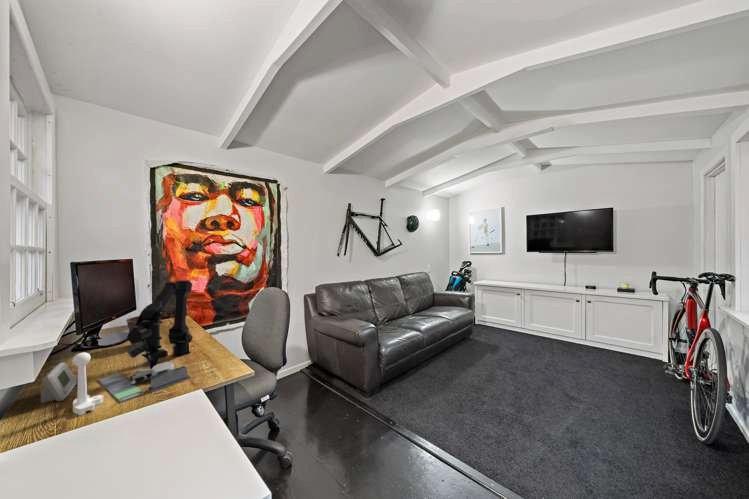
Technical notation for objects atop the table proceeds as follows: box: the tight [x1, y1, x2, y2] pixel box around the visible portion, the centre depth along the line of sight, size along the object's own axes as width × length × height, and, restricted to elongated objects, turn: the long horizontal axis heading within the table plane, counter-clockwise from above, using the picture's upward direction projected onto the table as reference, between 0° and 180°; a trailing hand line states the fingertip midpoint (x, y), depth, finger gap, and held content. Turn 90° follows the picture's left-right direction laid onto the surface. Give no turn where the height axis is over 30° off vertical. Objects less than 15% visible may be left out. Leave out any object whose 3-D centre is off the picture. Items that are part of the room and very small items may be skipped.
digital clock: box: [40, 362, 78, 403], centre depth 107 cm, size 16×9×11 cm, turn 25°
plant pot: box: [125, 315, 162, 348], centre depth 160 cm, size 16×16×16 cm
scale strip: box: [97, 372, 145, 404], centre depth 112 cm, size 7×31×1 cm, turn 57°
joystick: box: [72, 352, 104, 416], centre depth 99 cm, size 11×8×20 cm
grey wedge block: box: [147, 365, 191, 393], centre depth 115 cm, size 14×4×5 cm, turn 147°
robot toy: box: [130, 360, 175, 385], centre depth 120 cm, size 12×4×15 cm
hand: (152, 369), depth 125 cm, fingers closed
